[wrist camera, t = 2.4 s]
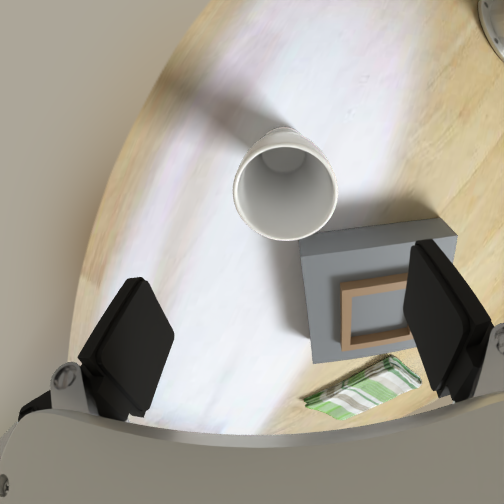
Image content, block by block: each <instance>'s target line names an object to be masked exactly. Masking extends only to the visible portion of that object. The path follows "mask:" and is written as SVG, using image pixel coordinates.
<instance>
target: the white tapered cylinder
mask: <svg viewBox="0 0 504 504" xmlns="http://www.w3.org/2000/svg"><path fill="white" fill-rule="evenodd" d="M233 199H234V203H235V206H236V209H237V211H238V213H239V215H240V217H241V218H242V220H243V221H244V222H245V223H246V224H247V225H248V226H249V227H250V228H251V229H252V230H254V231H255V232H257V233H258V234H260V235H262V236H264V237H267V238H270V239H274V240H280V241H292V240H298V239H302V238H305V237H307V236H310V235H312V234H314V233H315V232H317V231H318V230H319V229H321V228H322V227H323V226H324V225H325V224H326V223H327V222H328V220H329V219H330V217H331V216H332V214H333V212H334V210H335V207H336V204H337V199H338V185H337V180H336V177H335V174H334V172H333V170H332V167H331V165H330V163H329V161H328V160H327V158H326V156H325V155H324V154H323V152H322V151H321V150H320V149H319V148H318V146H316V145H315V144H314V143H313V142H312V141H310V140H309V139H308V138H306V137H304V136H303V135H302V134H301V133H299V132H298V131H297V130H295V129H292V128H289V127H278V128H275V129H272V130H270V131H269V132H268V133H267V134H265V136H264V137H262V138H261V139H260V140H258V141H257V142H256V143H255V144H254V145H252V146H251V148H250V149H249V150H248V151H247V153H246V154H245V156H244V157H243V159H242V161H241V163H240V165H239V167H238V170H237V173H236V175H235V179H234V183H233Z"/></svg>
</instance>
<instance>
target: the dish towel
mask: <svg viewBox="0 0 504 504" xmlns="http://www.w3.org/2000/svg"><path fill="white" fill-rule="evenodd" d="M420 385H422V380H421V378H420V377H419V376H418V375H417V374H416V373H414V372H413V371H411V370H410V369H409V368H408V367H407V366H405V365H404V364H403V363H402V362H401V361H400V360H399V359H397V358H396V357H394V356H393V355H391V356H389V357H387V358H386V359H384V360H382V361H380V362H378V363H376V364H374V365H373V366H371V367H369V368H367V369H365V370H363V371H361V372H359V373H358V374H356V375H354V376H352V377H350V378H348V379H346V380H344V381H342V382H340V383H338V384H336V385H333V386H331V387H329V388H327V389H325V390H323V391H321V392H318V393H316V394H314V395H312V396H309V397H307V398H305V399H304V402H306V403H307V404H306V405H305V407H307V408H309V409H314V410H318V411H321V412H324V413H327V414H328V415H330V416H332V417H333V418H335V419H338V420H345V419H347V418H350V417H352V416H355V415H357V414H359V413H362V412H364V411H367V410H369V409H371V408H372V407H375V406H377V405H379V404H382V403H384V402H386V401H388V400H391V399H393V398H395V397H396V396H398V395H400V394H402V393H405V392H407V391H409V390H412V389H416V388H418V387H420Z"/></svg>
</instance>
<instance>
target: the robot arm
mask: <svg viewBox="0 0 504 504" xmlns="http://www.w3.org/2000/svg"><path fill="white" fill-rule="evenodd" d="M478 12H479V18H480V21H481V25H482V27H483V30H484V33H485V35H486V37H487V39H488V41H489V42H490V44H491V46H492V48H493V49H494V50H495V52H496V53H497V55H498V56H499V57H500V58H501V59H502V61H503V62H504V0H479V2H478ZM403 313H404V316H405V319H406V321H407V323H408V326H409V328H410V331H411V333H412V336H413V338H414V341H415V344H416V346H417V349H418V352H419V354H420V357H421V360H422V363H423V365H424V368H425V371H426V374H427V377H428V380H429V383H430V386H431V389H432V390H433V391H437V394H438V398H441V397H444V396H447V395H451V398H452V400H453V403H452V404H451V405H448V406H444V407H441V408H438V409H435V410H431V411H427V412H424V413H420V414H416V415H412V416H408V417H404V418H399V419H395V420H391V421H386V422H381V423H376V424H371V425H365V426H360V427H353V428H347V429H339V430H331V431H323V432H312V433H299V434H281V435H228V434H210V433H198V432H187V431H178V430H170V429H163V428H156V427H150V426H144V425H138V424H133V423H130V422H129V419H128V415H129V413H130V414H131V415H132V416H137V417H143V418H144V415H145V412H146V411H147V410H148V409H149V408H150V405H151V403H152V400H153V397H154V394H155V391H156V388H157V385H158V382H159V379H160V377H161V374H162V371H163V368H164V365H165V363H166V360H167V357H168V354H169V352H170V349H171V346H172V344H173V341H174V331H173V329H172V327H171V326H170V324H169V322H168V320H167V318H166V316H165V314H164V312H163V310H162V308H161V306H160V304H159V303H158V301H157V299H156V297H155V295H154V292H153V290H152V288H151V286H150V284H149V283H148V281H146V280H144V279H143V278H142V277H137V278H129V279H127V280H126V281H125V283H124V284H123V286H122V287H121V288H120V290H119V291H118V293H117V294H116V296H115V297H114V299H113V300H112V302H111V304H110V305H109V307H108V308H107V310H106V311H105V313H104V314H103V316H102V317H101V319H100V321H99V322H98V324H97V325H96V327H95V329H94V330H93V332H92V334H91V335H90V337H89V338H88V340H87V342H86V343H85V345H84V347H83V349H82V350H81V352H80V354H79V355H78V359H79V360H80V361H81V362H82V365H81V367H80V366H79V365H78V364H77V363H75V362H67V363H65V364H63V365H61V366H60V367H59V368H58V369H57V370H56V371H55V372H54V374H53V376H52V378H51V382H50V389H51V390H49V391H47V392H46V393H44V394H42V395H41V396H39V397H38V398H36V399H34V400H32V401H31V402H29V403H28V404H26V405H25V406H23V407H22V408H21V410H20V414H19V418H18V422H16V423H15V424H14V425H13V426H12V427H11V428H10V429H9V430H8V431H7V432H6V433H5V434H4V435H3V436H2V437H1V438H0V504H504V323H500V324H498V325H496V326H495V327H494V325H493V324H492V322H491V318H490V317H489V315H488V314H487V312H486V311H485V309H484V307H483V306H482V304H481V303H480V301H479V300H478V298H477V297H476V295H475V294H474V292H473V291H472V290H471V288H470V287H469V285H468V284H467V283H466V281H465V280H464V278H463V277H462V276H461V274H460V273H459V272H458V270H457V269H456V268H455V266H454V265H453V264H452V262H451V261H450V260H449V259H448V257H447V256H446V255H445V254H444V252H443V251H442V250H441V249H440V247H439V246H438V245H437V244H436V243H435V241H434V240H433V239H424V240H417V241H416V242H415V245H413V246H411V250H410V260H409V268H408V276H407V284H406V291H405V297H404V303H403Z"/></svg>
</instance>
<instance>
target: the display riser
mask: <svg viewBox="0 0 504 504" xmlns="http://www.w3.org/2000/svg"><path fill="white" fill-rule="evenodd" d="M457 237H458V235H457V234H456V233H455V232H454V231H453V230H452V229H451V228H450V227H449V226H448V225H447V224H446V223H445V222H444V221H443V220H442V219H441V218H433V219H425V220H416V221H408V222H400V223H392V224H384V225H376V226H368V227H360V228H352V229H344V230H336V231H329V232H321V233H314V234H312V235H310V236H307V237H305V238H302V239H299V247H300V258H301V265H302V273H303V280H304V288H305V296H306V304H307V312H308V321H309V330H310V340H311V349H312V360H313V364H317V363H325V362H334V361H341V360H348V359H355V358H362V357H368V356H374V355H379V354H385V353H390V352H395V351H400V350H405V349H410V348H414V347H417V346H416V344H415V341H414V338H413V336H412V333H411V331H410V328H409V326H408V323H407V321H406V319H405V316H404V313H403V303H404V297H405V291H406V284H407V276H408V268H409V260H410V250H411V246H413V245H415V242H416V241H417V240H424V239H433V240H434V241H435V243H436V244H437V245H438V246H439V247H440V249H441V250H442V251H443V252H444V254H445V255H446V256H447V257H448V259H449V260H450V261H451V262H452V264H453V260H454V254H455V249H456V243H457Z"/></svg>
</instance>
